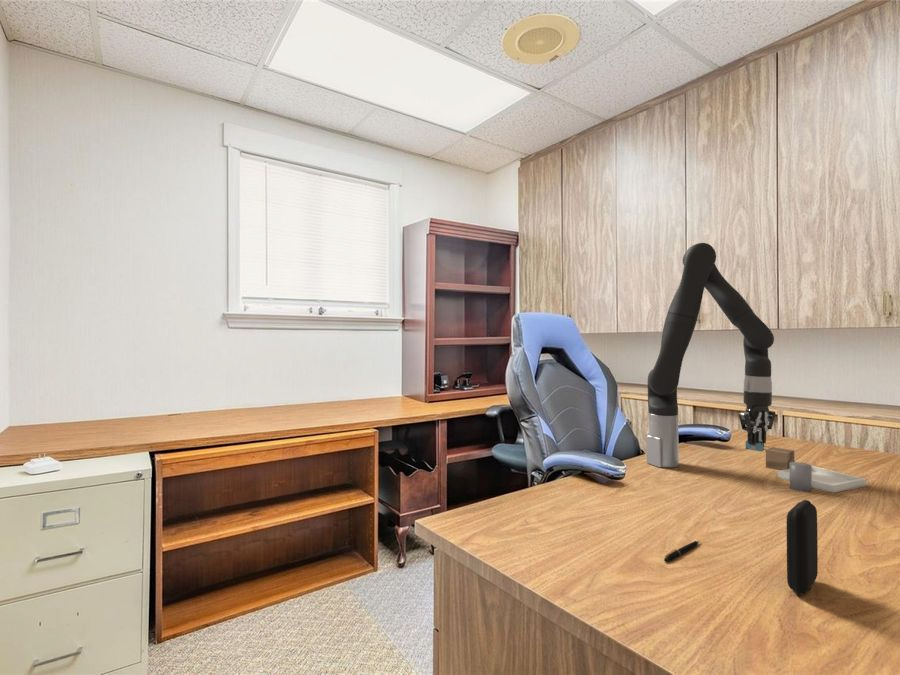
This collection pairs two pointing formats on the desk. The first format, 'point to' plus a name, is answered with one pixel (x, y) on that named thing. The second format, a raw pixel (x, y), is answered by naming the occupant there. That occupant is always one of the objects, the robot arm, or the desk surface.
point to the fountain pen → (679, 551)
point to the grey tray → (829, 480)
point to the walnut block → (779, 458)
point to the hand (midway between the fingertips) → (756, 443)
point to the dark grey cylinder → (800, 476)
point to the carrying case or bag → (802, 547)
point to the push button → (757, 439)
